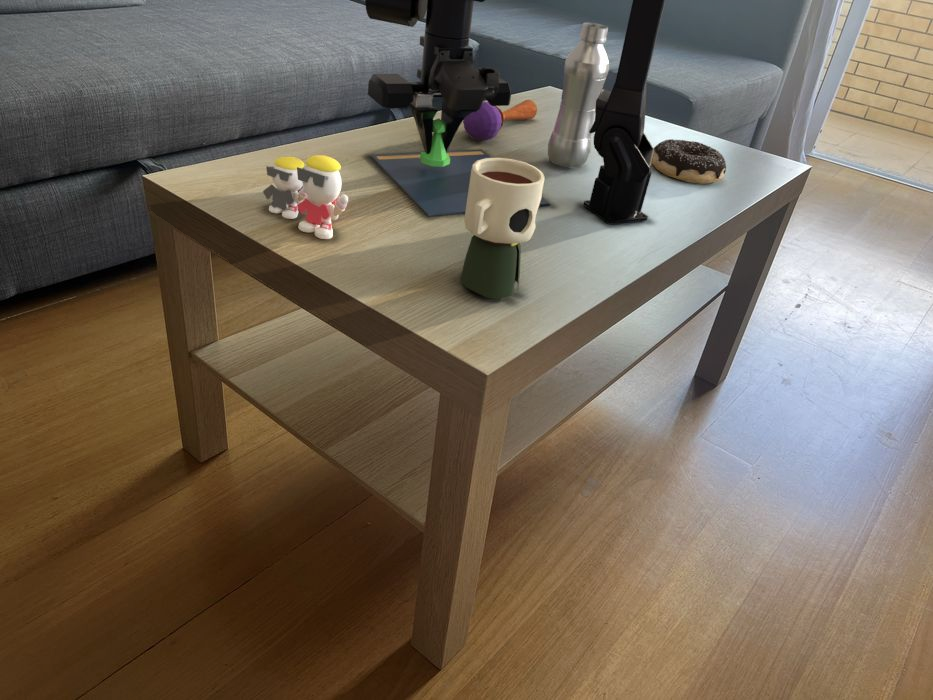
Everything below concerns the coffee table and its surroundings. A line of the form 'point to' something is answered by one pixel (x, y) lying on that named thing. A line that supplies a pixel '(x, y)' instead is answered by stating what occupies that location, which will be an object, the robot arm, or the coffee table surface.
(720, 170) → the donut
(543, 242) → the coffee table surface
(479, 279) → the character mug
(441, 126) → the game piece
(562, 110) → the silver metal bottle
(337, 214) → the toy figures
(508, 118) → the maraca
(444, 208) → the napkin
